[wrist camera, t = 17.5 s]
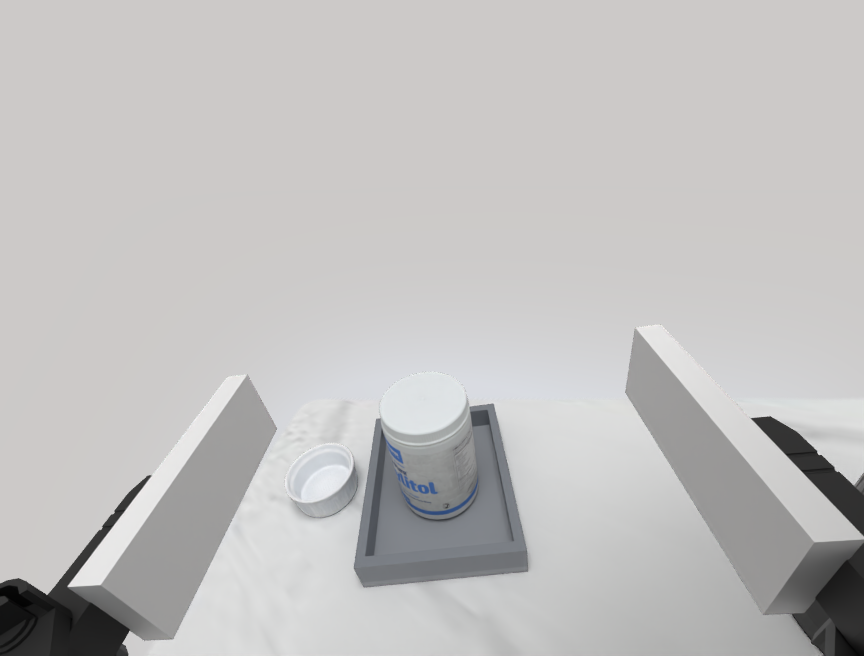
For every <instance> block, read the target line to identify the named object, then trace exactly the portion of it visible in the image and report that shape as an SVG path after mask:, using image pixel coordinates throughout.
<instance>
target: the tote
mask: <svg viewBox="0 0 864 656" xmlns="http://www.w3.org/2000/svg"><path fill="white" fill-rule="evenodd" d="M470 414H471V422H472V430H473V438H474V447H475V455H476V463H477V472H478V482H479V484H478V490H477V494H476V496H475V498H474V500H473V501H472V503H471V504H470V505H469V506H468V507H467V508H466V509H465V510H464V511H463V512H461V513H460V514H458V515H456V516H454V517H451V518H447V519H437V520H436V519H428V518H424V517H422V516H420V515H418V514H416V513H415V512H414V511H413V510H412V509H411V508H410V507H409V506H408V505H407V503H406V501H405V499H404V497H403V494H402V491H401V488H400V485H399V482H398V478H397V475H396V472H395V469H394V466H393V462H392V459H391V456H390V453H389V449H388V446H387V443H386V440H385V436H384V433H383V429H382V425H381V418H380V419H376V424H375V431H374V437H373V444H372V451H371V457H370V464H369V470H368V477H367V484H366V490H365V497H364V503H363V510H362V517H361V523H360V530H359V536H358V543H357V550H356V556H355V563H354V570H355V572H356V573H357V575H358V577H359V579H360V581H361V583H362V584H363V586H364V587H372V586H383V585H393V584H403V583H413V582H423V581H433V580H443V579H454V578H464V577H474V576H484V575H494V574H504V573H514V572H525V571H528V562H527V548H526V544H525V540H524V535H523V531H522V526H521V522H520V518H519V513H518V509H517V504H516V500H515V496H514V491H513V487H512V482H511V478H510V474H509V469H508V465H507V460H506V456H505V452H504V447H503V443H502V438H501V434H500V430H499V425H498V421H497V416H496V412H495V408H494V404H487V405H479V406H472V407H470Z"/></svg>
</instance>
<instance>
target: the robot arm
mask: <svg viewBox="0 0 864 656" xmlns="http://www.w3.org/2000/svg"><path fill="white" fill-rule="evenodd" d="M625 393H626V394H627V396H628V398H629V399H630V401H631V402H632V404H633V406H634V407H635V409H636V410H637V412H638V414H639V415H640V417H641V419H642V420H643V422H644V423H645V425H646V427H647V428H648V430H649V431H650V433H651V435H652V436H653V438H654V440H655V441H656V443H657V444H658V446H659V448H660V449H661V451H662V452H663V454H664V456H665V457H666V459H667V461H668V462H669V464H670V465H671V467H672V469H673V470H674V472H675V473H676V475H677V477H678V478H679V480H680V481H681V483H682V485H683V486H684V488H685V490H686V491H687V493H688V494H689V496H690V498H691V499H692V501H693V502H694V504H695V506H696V507H697V509H698V511H699V512H700V514H701V515H702V517H703V519H704V520H705V522H706V523H707V525H708V527H709V528H710V530H711V531H712V533H713V535H714V536H715V538H716V540H717V541H718V543H719V544H720V546H721V548H722V549H723V551H724V552H725V554H726V556H727V557H728V559H729V561H730V562H731V564H732V565H733V567H734V569H735V570H736V572H737V573H738V575H739V577H740V578H741V580H742V582H743V583H744V585H745V586H746V588H747V590H748V591H749V593H750V594H751V596H752V598H753V599H754V601H755V602H756V604H757V606H758V607H759V609H760V611H761V612H762V614H763V615H769V614H793V615H794V617H795V618H796V620H797V621H798V623H799V624H800V626H801V627H802V628H803V630H804V631H805V632H806V633H807V635H808V636H809V637H810V638H811V640H812V641H811V643H812V644H814V645H815V646H817V647H819V649H820V650H821V651H822V652H823V653H824V654H825V656H864V473H863V474H862V476H861V477H860V478H859V480H858V481H857V482H856V484H855V485H852V484H851V483H850V482H849V481H848V480H847V479H846V478H845V477H844V476H843V475H842V474H841V473H840V472H836V471H835V469H834V467H833V466H832V465H831V464H830V463H829V462H828V461H827V460H826V459H825V458H824V457H823V456H822V455H818V453H817V450H815V449H814V448H813V447H812V446H811V445H810V444H809V443H808V442H807V441H806V440H805V439H804V438H803V437H802V436H801V435H800V434H799V433H797V432H796V431H794V430H793V429H791V428H789V427H788V426H786V425H784V424H782V423H781V422H779V421H777V420H776V419H774V418H772V417H771V416H770V417H759V418H750V417H749V416H748V415H747V414H746V413H745V412H744V411H743V410H742V409H741V408H740V407H739V406H738V405H737V404H736V403H735V402H734V401H733V400H732V398H731V397H730V396H729V395H728V394H727V393H726V392H725V391H724V390H723V389H722V388H721V387H720V386H719V385H718V384H717V383H716V382H715V381H714V380H713V379H712V378H711V377H710V376H709V374H708V373H707V372H705V370H704V369H703V368H702V367H701V366H700V365H699V364H698V363H697V362H696V361H695V360H694V359H693V358H692V357H691V356H690V355H689V354H688V353H687V352H686V351H685V349H683V348H682V346H681V345H680V344H679V343H678V342H677V341H676V340H675V339H674V338H673V337H672V336H671V335H670V334H669V333H668V332H667V331H666V330H665V329H664V328H663V326H661V324H660V325H651V326H643V327H635V331H634V338H633V345H632V351H631V359H630V364H629V371H628V379H627V385H626V391H625ZM276 430H277V427H276V426H275V424H274V422H273V420H272V418H271V416H270V415H269V413H268V411H267V409H266V407H265V406H264V404H263V402H262V400H261V398H260V397H259V395H258V393H257V391H256V389H255V388H254V386H253V384H252V382H251V380H250V378H249V376H248V375H238V376H230V377H227V378H226V379H225V381H224V382H223V383H222V384H221V386H220V387H219V389H218V390H217V391H216V392H215V394H214V395H213V396H212V398H211V399H210V400H209V401H208V403H207V404H206V405H205V407H204V408H203V409H202V411H201V412H200V413H199V415H198V416H197V417H196V419H195V420H194V421H193V422H192V424H191V425H190V427H189V428H188V429H187V430H186V432H185V433H184V434H183V436H182V437H181V438H180V439H179V441H178V442H177V443H176V445H175V446H174V447H173V449H172V450H171V451H170V453H169V454H168V455H167V457H166V458H165V459H164V460H163V462H162V463H161V464H160V466H159V467H158V468H157V470H156V471H155V472H154V474H153V475H149V476H147V477H146V478H145V479H144V480H142V481H141V482H140V483H139V484H138V485H137V486H136V487H134V488H133V489H132V490H131V491H130V492H129V493H128V494H127V495H126V497H125V498H124V499H123V501H122V502H121V503H120V504H119V506H118V507H117V508H116V509H115V513H114V514H113V515H111V516H110V517H109V518H108V520H107V521H106V522H105V523H104V525H103V526H102V527H103V528H102V530H99V531H98V532H97V534H96V535H95V536H94V537H93V539H92V540H91V541H90V542H89V544H88V545H87V546H86V548H85V549H84V550H83V551H82V553H81V554H80V555H79V556H78V558H77V559H76V560H75V562H74V563H73V564H72V565H71V567H70V568H69V569H68V570H67V572H66V573H65V574H64V575H63V577H62V578H61V579H60V580H59V582H58V583H57V584H56V586H55V587H54V588H53V589H52V590H51V592H50V593H49V594H48V595H46V594H45V593H43V592H42V591H40V590H38V589H37V588H35V587H34V586H32V585H31V584H29V583H28V582H26V581H24V580H21V579H19V578H18V579H12V580H8V581H5V582H3V583H1V584H0V656H128V652H127V649H126V646H125V645H123V644H122V643H123V641H124V639H125V638H126V636H127V634H128V633H129V631H131V632H133V633H134V634H136V635H137V636H139V637H140V638H141V639H143V640H169V639H174V636H175V634H176V632H177V630H178V628H179V626H180V624H181V622H182V620H183V618H184V616H185V614H186V612H187V610H188V608H189V606H190V604H191V602H192V600H193V598H194V596H195V594H196V592H197V590H198V588H199V586H200V584H201V582H202V580H203V578H204V576H205V574H206V572H207V570H208V568H209V566H210V564H211V562H212V560H213V557H214V555H215V553H216V551H217V549H218V547H219V545H220V543H221V541H222V539H223V537H224V535H225V533H226V531H227V529H228V527H229V525H230V523H231V521H232V519H233V517H234V515H235V513H236V511H237V509H238V507H239V505H240V503H241V501H242V499H243V497H244V495H245V493H246V491H247V489H248V487H249V485H250V483H251V481H252V479H253V476H254V474H255V472H256V470H257V468H258V466H259V464H260V462H261V460H262V458H263V456H264V454H265V452H266V450H267V448H268V446H269V444H270V442H271V440H272V438H273V436H274V434H275V432H276Z"/></svg>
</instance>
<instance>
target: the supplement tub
mask: <svg viewBox="0 0 864 656" xmlns="http://www.w3.org/2000/svg"><path fill="white" fill-rule="evenodd" d="M379 413H380V417H381V425H382V429H383V433H384V436H385V440H386V443H387V446H388V449H389V453H390V456H391V459H392V462H393V466H394V469H395V472H396V475H397V478H398V482H399V485H400V488H401V491H402V494H403V497H404V499H405V501H406V503H407V505H408V506H409V507H410V508H411V509H412V510H413V511H414V512H415V513H416V514H418V515H420V516H422V517H424V518H428V519H436V520H437V519H447V518H451V517H454V516H456V515H458V514H460V513H461V512H463V511H464V510H465V509H466V508H467V507H468V506H469V505H470V504H471V503H472V501H473V500H474V498H475V496H476V494H477V490H478V484H479V482H478V472H477V463H476V455H475V447H474V438H473V430H472V422H471V414H470V406H469V401H468V398H467V395H466V391H465V388H464V387H463V385H462V384H461V383H460V382H459V381H458V380H457V379H455V378H454V377H452V376H450V375H447V374H443V373H439V372H422V373H416V374H413V375H410V376H407V377H405V378H402V379H401V380H399V381H397V382H396V383H394V384H393V385H392V386H391V387H390V388H389V389H388V390H387V391H386V392H385V393H384V395H383V397H382V399H381V401H380V406H379Z"/></svg>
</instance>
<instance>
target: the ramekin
mask: <svg viewBox="0 0 864 656" xmlns="http://www.w3.org/2000/svg"><path fill="white" fill-rule="evenodd" d="M357 483H358V482H357V474H356V470H355V467H354V458H353V455H352V453H351V451H350V450H349V449H348V448H347V447H346V446H344V445H342V444H338V443H325V444H321V445H317V446H315V447H313V448H310V449H309V450H307V451H305V452H304V453H302V454H301V455H300V456H299V457H298V458H297V459H296V460H295V461H294V462H293V463H292V464H291V466H290V467H289V469H288V471H287V473H286V476H285V480H284V487H285V491H286V493H287V495H288V496H289V497H290V498H291V499H292V500H293V501H295V503H296V504H297V505H298V507H299V508H300V509H301V510H302V511H303V512H304V513H305V514H307V515H309V516H312V517H317V518H319V517H326V516H330V515H332V514H335V513H336V512H338V511H340V510H341V509H342V508H344V507H345V506H346V505H347V504H348V503H349V502H350V500H351V499H352V497H353V496H354V494H355V492H356V489H357Z"/></svg>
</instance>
